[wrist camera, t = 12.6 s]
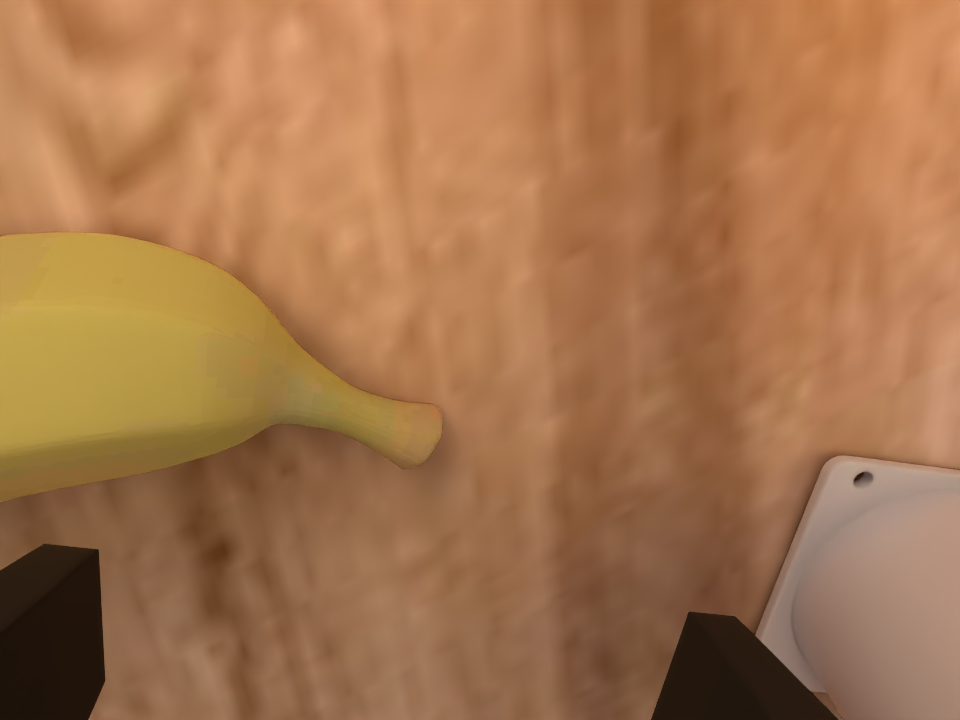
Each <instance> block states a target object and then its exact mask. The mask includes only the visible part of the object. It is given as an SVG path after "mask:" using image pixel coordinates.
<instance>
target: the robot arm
mask: <svg viewBox="0 0 960 720" xmlns="http://www.w3.org/2000/svg"><path fill="white" fill-rule="evenodd" d="M861 472H865V474H864V475H863V476H862V478H860V479H858V480H855V481H854V478H855V477H856V476H857V475H858V474H860V473H861ZM104 682H105V668H104V647H103V627H102V607H101V587H100V567H99V550H98V549H88V548H79V547H69V546H60V545H50V544H43V545H42V546H40V547H38V548H37V549H35V550H33V551H31V552H30V553H28V554H26V555H25V556H23V557H21V558H20V559H18V560H17V561H15V562H13V563H12V564H10V565H9V566H7V567H5V568H4V569H2V570H1V571H0V720H88V719H89V717H90V715H91V712H92V710H93V708H94V705H95V703H96V701H97V698H98V696H99V694H100V692H101V689H102V687H103V685H104ZM811 691H813V692H824V693H827V694H828V696H829V697H830V699H831V701H832V702H833V704H834V705H835V707H836V709H837V710H838V712H839V714H840V715H841V717H842V719H843V720H960V470H955V469H947V468H940V467H932V466H924V465H917V464H909V463H901V462H894V461H886V460H879V459H871V458H863V457H856V456H848V455H839V456H836V457H833V458H831V459H830V460H829V461H827V462H826V463H825V464H824V466H823V468H822V469H821V472H820V474H819V477H818V479H817V482H816V484H815V487H814V489H813V492H812V494H811V497H810V499H809V502H808V504H807V507H806V509H805V512H804V514H803V517H802V519H801V522H800V524H799V526H798V529H797V531H796V534H795V536H794V539H793V541H792V544H791V546H790V549H789V551H788V554H787V556H786V559H785V561H784V564H783V566H782V569H781V571H780V574H779V576H778V579H777V581H776V584H775V586H774V589H773V591H772V594H771V596H770V599H769V601H768V604H767V606H766V609H765V611H764V614H763V616H762V619H761V621H760V624H759V626H758V629H757V631H756V634H755V635H754V634H753V633H752V632H751V631H750V630H749V629H748V628H747V627H746V626H745V625H744V624H742V623H741V622H740V621H739V620H738V619H737V618H736V617H735V616H726V615H716V614H707V613H697V612H689V613H688V616H687V619H686V622H685V624H684V627H683V630H682V633H681V636H680V639H679V642H678V644H677V647H676V650H675V653H674V656H673V659H672V662H671V664H670V667H669V670H668V673H667V676H666V679H665V682H664V684H663V687H662V690H661V693H660V696H659V699H658V702H657V704H656V707H655V710H654V713H653V716H652V719H651V720H838V719H837V718H836V717H835V716H834V715H833V714H832V713H831V712H830V711H829V710H828V709H827V708H826V707H825V706H824V705H823V704H822V703H821V702H820V701H819V700H818V699H817V698H816V696H815V695H814V694H813V693H812V692H811Z"/></svg>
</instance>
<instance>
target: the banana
mask: <svg viewBox="0 0 960 720" xmlns="http://www.w3.org/2000/svg"><path fill="white" fill-rule="evenodd" d="M275 424H296V425H303V426H310V427H316V428H322V429H328V430H332V431H336V432H339V433H342V434H344V435H347V436H349V437H351V438H353V439H355V440H357V441H359V442H361V443H363V444H365V445H367V446H368V447H370V448H372V449H373V450H375V451H377V452H378V453H380V454H381V455H383V456H384V457H386V458H388V459H389V460H390V461H392V462H393V463H394V464H396V465H397V466H398V467H400V468H402V469H412V468H415V467H418V466H420V465H421V464H423V463H424V462H425V461H426V460H427V459H428V458H429V457H430V455H431V454H432V452H433V451H434V449H435V447H436V446H437V444H438V442H439V440H440V438H441V435H442V429H443V426H442V416H441V411H440V409H439V407H438V406H436V405H433V404H429V403H414V402H403V401H397V400H392V399H388V398H384V397H380V396H377V395H373V394H371V393H368V392H365V391H362V390H360V389H357V388H355V387H353V386H351V385H350V384H348V383H346V382H345V381H343V380H342V379H340V378H339V377H338V376H336V375H335V374H333V373H332V372H331V371H330V370H328V369H327V368H326V367H324V366H323V365H322V364H320V363H319V362H318V361H316V360H315V359H314V358H313V357H311V356H310V355H309V354H308V353H307V352H306V351H304V350H303V349H302V348H301V347H300V346H299V345H298V344H297V343H296V341H295V340H294V339H293V338H292V337H291V336H290V335H289V333H288V332H287V331H286V330H285V328H284V327H283V326H282V324H281V323H280V322H279V321H278V319H277V318H276V317H275V316H274V314H273V313H272V312H271V311H270V310H269V309H268V307H267V306H266V305H265V304H264V303H263V302H262V301H261V300H260V299H259V298H258V297H257V296H256V295H255V294H254V293H253V292H252V291H251V290H249V289H248V288H247V287H246V286H245V285H244V284H242V283H241V282H240V281H238V280H237V279H236V278H234V277H233V276H232V275H230V274H229V273H227V272H225V271H224V270H222V269H221V268H219V267H217V266H215V265H213V264H211V263H209V262H207V261H205V260H202V259H200V258H197V257H195V256H192V255H190V254H187V253H185V252H182V251H179V250H175V249H172V248H169V247H166V246H163V245H159V244H156V243H152V242H148V241H143V240H139V239H135V238H129V237H124V236H118V235H110V234H101V233H87V232H47V233H30V234H14V235H5V236H0V502H3V501H6V500H10V499H13V498H17V497H22V496H26V495H30V494H35V493H40V492H45V491H50V490H55V489H60V488H66V487H71V486H77V485H83V484H88V483H94V482H99V481H105V480H110V479H116V478H122V477H127V476H133V475H137V474H142V473H147V472H151V471H155V470H160V469H164V468H168V467H171V466H175V465H178V464H181V463H185V462H188V461H191V460H195V459H198V458H202V457H205V456H208V455H212V454H215V453H217V452H220V451H223V450H225V449H228V448H231V447H233V446H236V445H238V444H240V443H242V442H244V441H246V440H248V439H249V438H251V437H252V436H254V435H256V434H257V433H259V432H260V431H262V430H263V429H265V428H267V427H269V426H272V425H275Z"/></svg>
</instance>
